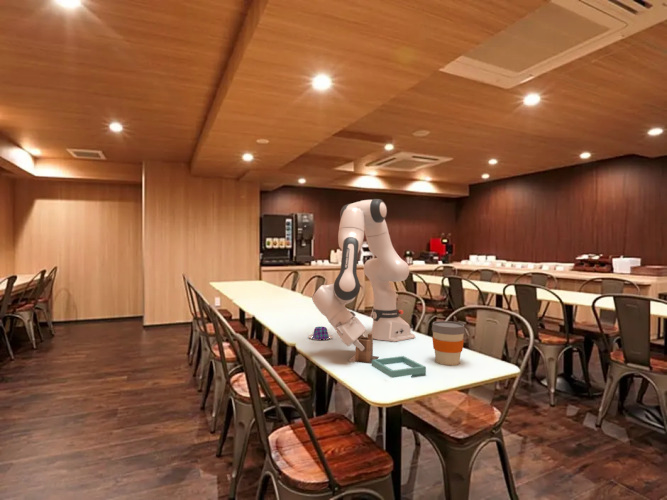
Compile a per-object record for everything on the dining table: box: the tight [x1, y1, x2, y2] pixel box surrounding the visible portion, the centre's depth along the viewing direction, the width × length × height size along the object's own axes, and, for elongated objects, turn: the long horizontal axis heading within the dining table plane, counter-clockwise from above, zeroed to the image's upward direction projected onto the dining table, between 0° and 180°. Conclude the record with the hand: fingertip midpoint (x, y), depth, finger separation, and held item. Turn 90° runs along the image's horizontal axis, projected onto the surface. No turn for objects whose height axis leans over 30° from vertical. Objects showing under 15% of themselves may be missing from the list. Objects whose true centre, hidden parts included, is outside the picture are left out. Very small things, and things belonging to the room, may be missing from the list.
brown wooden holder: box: [354, 332, 374, 362], centre depth 152 cm, size 6×6×10 cm
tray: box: [371, 355, 427, 378], centre depth 141 cm, size 14×14×3 cm
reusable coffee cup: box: [431, 320, 466, 366], centre depth 154 cm, size 13×13×15 cm
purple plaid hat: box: [308, 326, 334, 341], centre depth 189 cm, size 12×12×5 cm
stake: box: [348, 354, 380, 365], centre depth 152 cm, size 10×10×6 cm
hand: (365, 347), depth 152 cm, fingers closed on brown wooden holder, 6 cm apart
